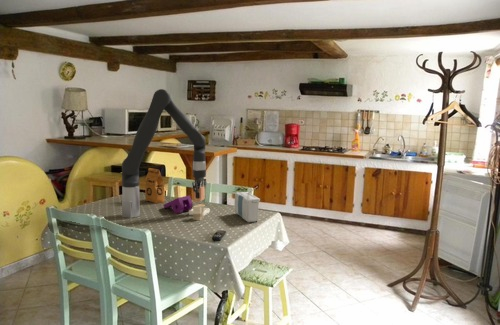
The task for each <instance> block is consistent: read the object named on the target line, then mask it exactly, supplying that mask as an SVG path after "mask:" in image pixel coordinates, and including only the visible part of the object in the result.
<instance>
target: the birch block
mask: <svg viewBox="0 0 500 325" xmlns="http://www.w3.org/2000/svg"><path fill="white" fill-rule="evenodd" d="M204 205H205V204H202V205H199V204H195V205H194V206H193V207H192V209H193V215H192V220H193V221H202V220H203V219H205V216H204V208H205V206H204Z"/></svg>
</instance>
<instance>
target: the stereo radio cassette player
mask: <svg viewBox="0 0 500 325" xmlns="http://www.w3.org/2000/svg"><path fill="white" fill-rule="evenodd" d="M256 188H258V185H257V186H256V187H254V188H253V189H251V191H250V192H248V191H240V192H238V191H237V192H235V193H234V213H236V214H237V216H239V217H240V218H242V219H243V220H244V221H246V222H247V223H253V222H254V223H255V222H256V221H257V222H258V221H259V205H260V204H259V203H260V201H261V198H259V197H258V196H256V195H255V194H252V192H253V191H254V190H255V189H256Z"/></svg>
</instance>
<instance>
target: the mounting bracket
mask: <svg viewBox="0 0 500 325" xmlns="http://www.w3.org/2000/svg"><path fill="white" fill-rule="evenodd" d="M162 206H163V208H164V210H165V209H168V208H172V209H171V210H172V211H173V212H174V213H175V214H181V213H183V212H184V211H185V212H189V210H191V209H193V201H192V198H191V195H185V196H181V197H177V198H175V199H172V200H170V201H168V202H166V203H165V204H163V205H162Z"/></svg>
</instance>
